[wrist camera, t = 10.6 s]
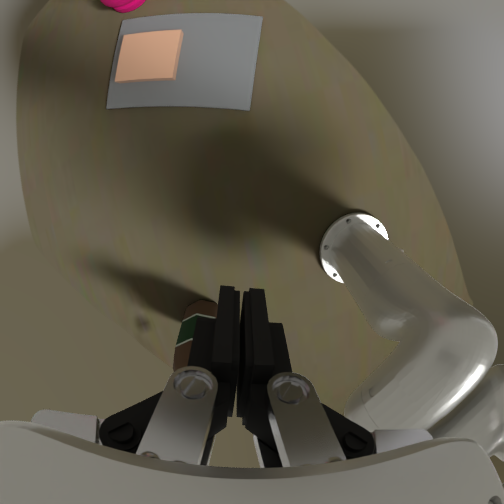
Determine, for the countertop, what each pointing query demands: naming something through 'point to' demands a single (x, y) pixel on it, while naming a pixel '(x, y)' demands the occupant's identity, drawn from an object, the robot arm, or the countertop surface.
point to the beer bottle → (191, 330)
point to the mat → (196, 63)
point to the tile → (149, 56)
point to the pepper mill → (123, 4)
